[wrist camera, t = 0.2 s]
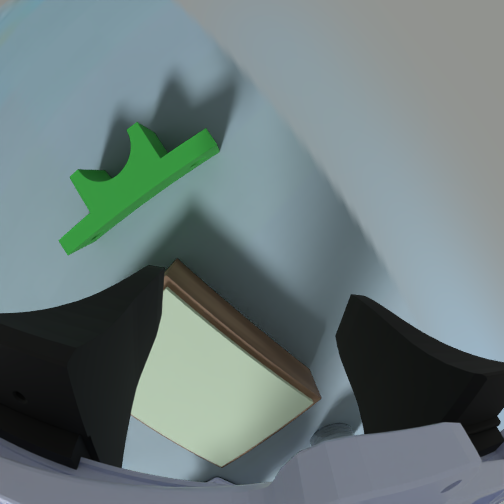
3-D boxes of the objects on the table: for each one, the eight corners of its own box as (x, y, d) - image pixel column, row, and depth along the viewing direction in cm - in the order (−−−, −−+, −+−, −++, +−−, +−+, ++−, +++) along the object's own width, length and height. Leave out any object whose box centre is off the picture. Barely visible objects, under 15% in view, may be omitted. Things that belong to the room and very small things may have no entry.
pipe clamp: (191, 108, 20) (182, 91, 15) (220, 152, 21) (218, 144, 16) (69, 200, 20) (37, 206, 16) (94, 241, 21) (67, 256, 17)
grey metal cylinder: (327, 456, 28) (339, 489, 23) (301, 442, 27) (311, 478, 22) (360, 432, 27) (376, 465, 22) (335, 417, 26) (351, 452, 21)
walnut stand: (221, 437, 26) (221, 471, 22) (97, 350, 23) (78, 379, 19) (309, 369, 25) (322, 401, 20) (177, 258, 22) (164, 276, 17)
